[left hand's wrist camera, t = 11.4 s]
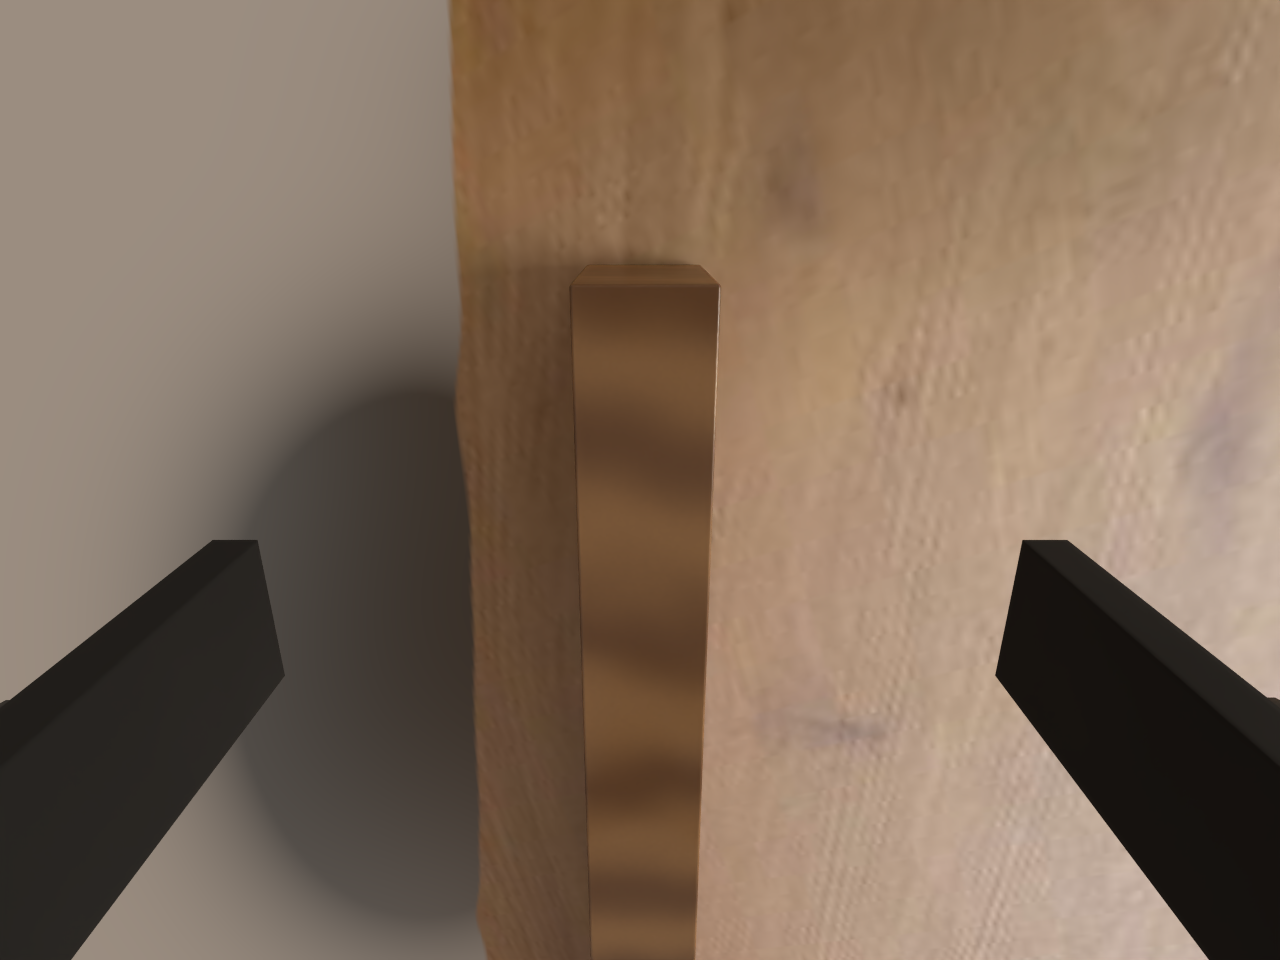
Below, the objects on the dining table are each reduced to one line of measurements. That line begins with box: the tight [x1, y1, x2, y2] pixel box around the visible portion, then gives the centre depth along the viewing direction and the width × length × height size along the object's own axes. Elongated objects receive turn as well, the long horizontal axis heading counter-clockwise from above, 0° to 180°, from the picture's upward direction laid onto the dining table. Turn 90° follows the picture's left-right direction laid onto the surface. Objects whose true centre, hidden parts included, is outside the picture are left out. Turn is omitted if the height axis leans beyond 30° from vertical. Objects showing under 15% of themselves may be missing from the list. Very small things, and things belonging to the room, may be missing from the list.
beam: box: [570, 265, 721, 960], centre depth 37 cm, size 52×5×8 cm, turn 0°
